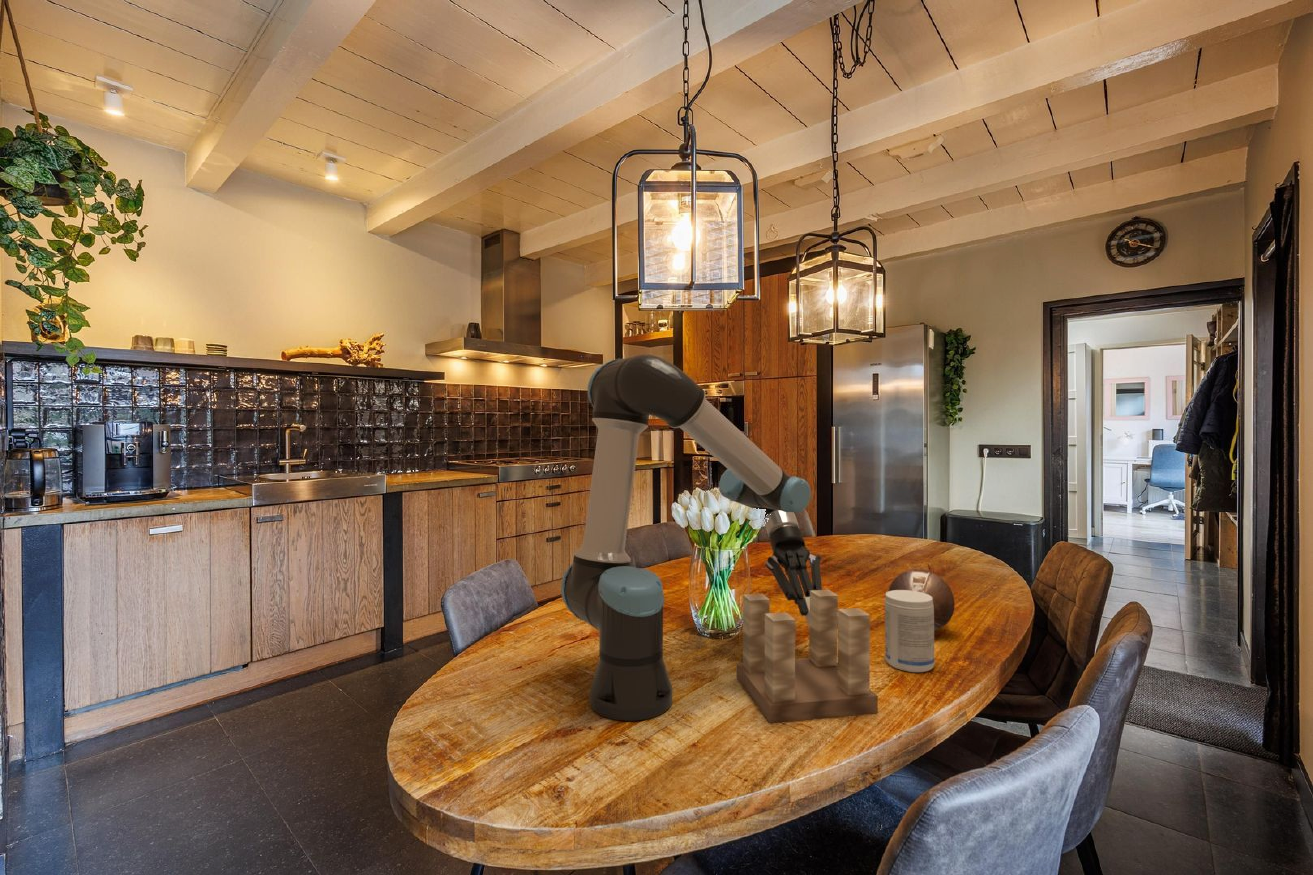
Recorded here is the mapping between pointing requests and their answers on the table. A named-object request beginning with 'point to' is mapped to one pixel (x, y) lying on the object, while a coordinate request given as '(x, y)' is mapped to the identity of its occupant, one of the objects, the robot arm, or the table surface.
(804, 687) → the stool seat
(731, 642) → the table surface
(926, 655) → the supplement tub
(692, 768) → the table surface
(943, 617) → the brown metallic ball
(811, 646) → the hinged leg
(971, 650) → the table surface
